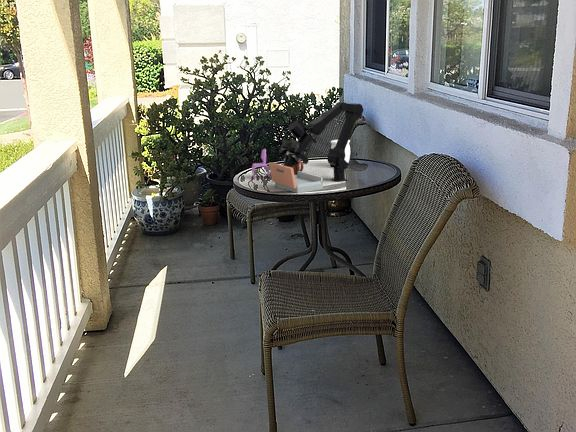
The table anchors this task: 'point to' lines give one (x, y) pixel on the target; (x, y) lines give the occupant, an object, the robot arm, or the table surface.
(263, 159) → the toy chair
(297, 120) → the robot arm
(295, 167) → the mug
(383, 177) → the table surface
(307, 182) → the bed
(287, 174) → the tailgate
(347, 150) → the jar
